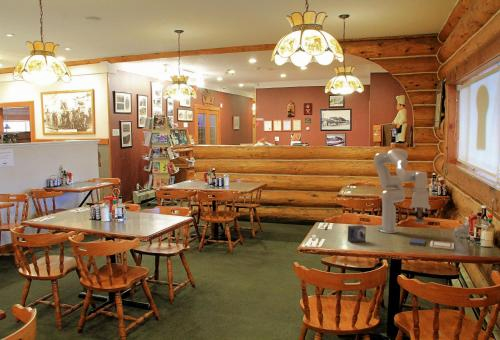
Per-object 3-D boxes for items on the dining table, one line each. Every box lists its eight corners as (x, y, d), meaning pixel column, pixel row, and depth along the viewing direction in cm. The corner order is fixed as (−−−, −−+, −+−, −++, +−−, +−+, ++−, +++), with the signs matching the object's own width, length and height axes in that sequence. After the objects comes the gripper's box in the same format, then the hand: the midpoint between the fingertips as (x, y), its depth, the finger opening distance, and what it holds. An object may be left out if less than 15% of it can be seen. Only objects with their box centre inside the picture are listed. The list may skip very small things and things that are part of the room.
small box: (351, 243, 284) (351, 227, 283) (347, 240, 290) (347, 225, 289) (365, 242, 286) (366, 227, 285) (361, 239, 292) (361, 225, 291)
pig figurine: (474, 237, 297) (474, 222, 296) (457, 238, 296) (457, 223, 295) (469, 235, 302) (470, 221, 301) (452, 236, 301) (453, 221, 300)
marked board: (429, 246, 274) (430, 245, 274) (430, 241, 286) (430, 240, 286) (453, 249, 268) (453, 247, 268) (453, 244, 280) (453, 242, 280)
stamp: (414, 222, 281) (415, 205, 280) (415, 221, 287) (415, 204, 286) (424, 223, 279) (424, 206, 278) (424, 221, 284) (425, 204, 283)
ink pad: (409, 244, 280) (409, 242, 280) (411, 240, 291) (411, 238, 291) (424, 245, 276) (424, 243, 276) (425, 241, 287) (425, 239, 287)
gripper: (407, 190, 281) (406, 217, 282) (434, 191, 274) (433, 219, 276) (407, 189, 288) (407, 215, 289) (434, 190, 281) (433, 217, 283)
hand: (419, 217), depth 282 cm, fingers closed on stamp, 3 cm apart
